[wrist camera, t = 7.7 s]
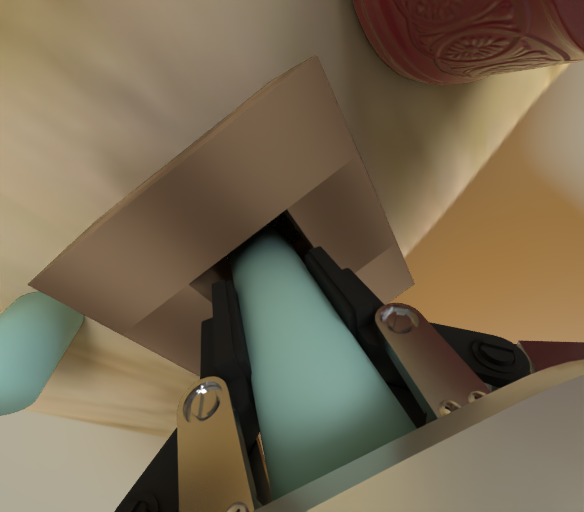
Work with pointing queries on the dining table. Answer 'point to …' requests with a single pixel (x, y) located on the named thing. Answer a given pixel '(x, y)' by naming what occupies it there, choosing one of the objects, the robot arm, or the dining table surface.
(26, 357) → the short dowel
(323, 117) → the socket block
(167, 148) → the dining table surface
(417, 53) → the canister
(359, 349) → the tall dowel
